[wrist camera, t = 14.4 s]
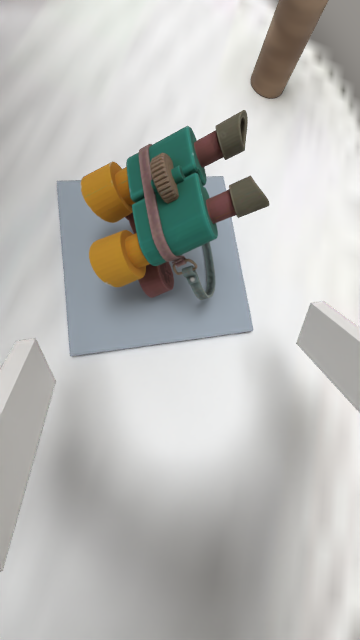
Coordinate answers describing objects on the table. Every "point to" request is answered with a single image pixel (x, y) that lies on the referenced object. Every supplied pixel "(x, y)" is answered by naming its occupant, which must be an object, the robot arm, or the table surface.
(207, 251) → the binoculars
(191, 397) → the table surface
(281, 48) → the post gap
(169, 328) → the grey mat
